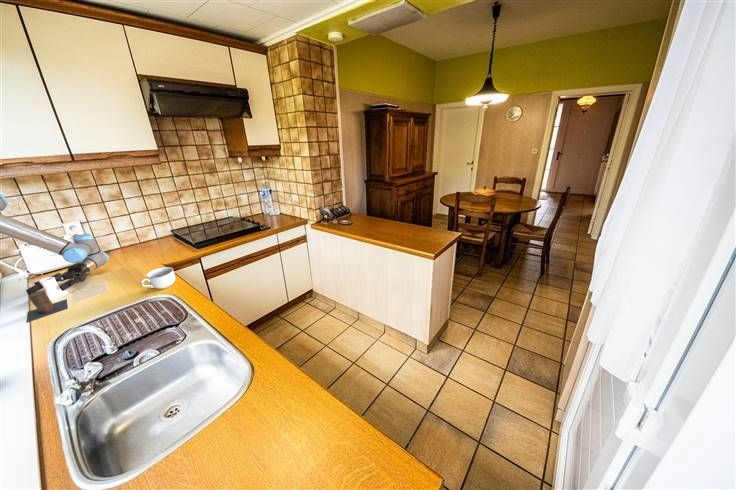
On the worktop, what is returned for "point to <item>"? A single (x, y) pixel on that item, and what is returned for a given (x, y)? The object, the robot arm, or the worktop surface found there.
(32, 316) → the slate mat
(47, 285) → the vase
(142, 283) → the teacup
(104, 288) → the cream mat
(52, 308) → the pepper shaker
